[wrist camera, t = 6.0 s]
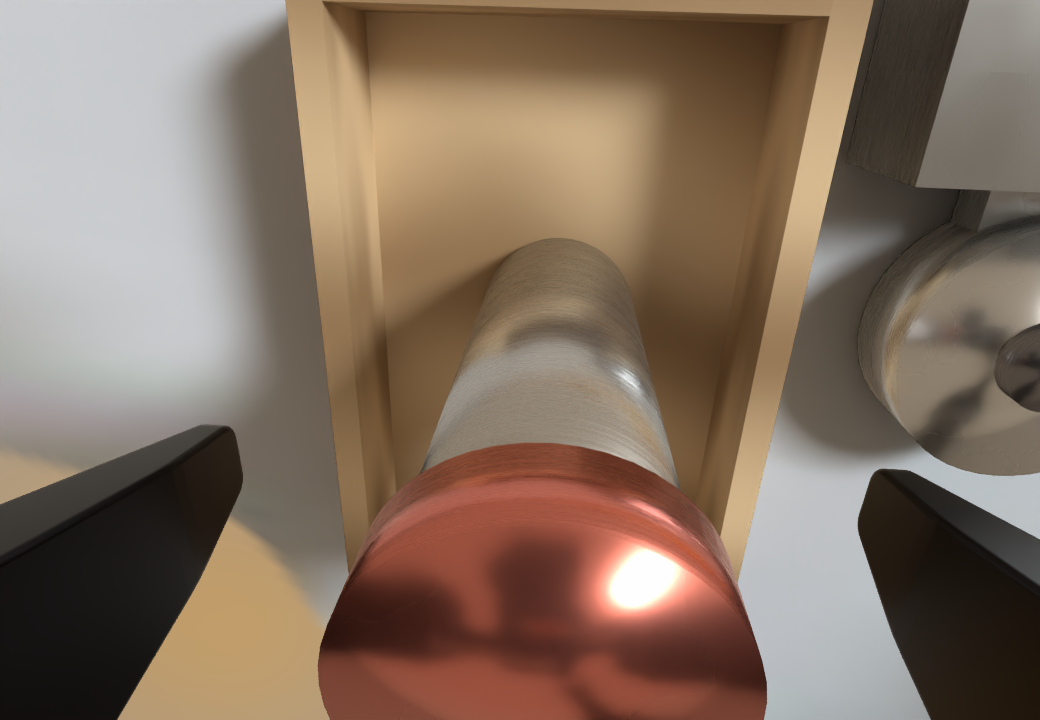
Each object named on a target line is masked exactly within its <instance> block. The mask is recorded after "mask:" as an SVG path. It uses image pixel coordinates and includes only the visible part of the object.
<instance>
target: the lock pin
mask: <svg viewBox="0 0 1040 720" xmlns="http://www.w3.org/2000/svg"><path fill="white" fill-rule="evenodd" d="M318 674H319V675H318V676H319V687H320V691H321V695H322V699H323V703H324V706H325V708H326V711H327V713H328V715H329V718H330V720H764V715H765V710H766V705H767V682H766V677H765V672H764V667H763V662H762V659H761V656H760V652H759V649H758V646H757V643H756V640H755V637H754V634H753V631H752V627H751V624H750V621H749V618H748V615H747V612H746V609H745V606H744V602H743V599H742V596H741V593H740V590H739V587H738V584H737V580H736V577H735V574H734V571H733V568H732V565H731V562H730V559H729V556H728V554H727V551H726V549H725V546H724V544H723V542H722V539H721V538H720V536H719V535H718V533H717V531H716V530H715V528H714V526H713V525H712V523H711V522H710V520H709V519H708V518H707V517H706V516H705V514H704V513H703V512H702V511H701V510H700V509H699V507H698V506H697V505H696V504H695V503H694V502H693V501H692V500H690V499H689V498H688V497H687V496H686V495H685V494H684V493H683V492H681V490H680V486H679V482H678V478H677V474H676V470H675V466H674V463H673V459H672V455H671V451H670V447H669V443H668V439H667V435H666V431H665V427H664V424H663V420H662V416H661V412H660V408H659V404H658V400H657V396H656V392H655V389H654V385H653V381H652V377H651V373H650V369H649V365H648V361H647V357H646V353H645V350H644V346H643V342H642V338H641V334H640V330H639V326H638V322H637V318H636V314H635V311H634V307H633V303H632V299H631V295H630V291H629V287H628V285H627V282H626V280H625V278H624V276H623V274H622V272H621V271H620V269H619V268H618V267H617V265H616V264H615V263H614V262H613V261H612V260H611V259H610V258H609V257H608V256H607V255H606V254H604V253H603V252H602V251H600V250H599V249H597V248H595V247H593V246H591V245H589V244H587V243H584V242H581V241H577V240H573V239H566V238H549V239H542V240H539V241H535V242H532V243H529V244H527V245H525V246H522V247H521V248H519V249H517V250H516V251H514V252H513V253H512V254H510V255H509V256H508V257H507V258H506V259H505V260H504V261H503V262H502V263H501V264H500V265H499V267H498V268H497V269H496V271H495V272H494V274H493V276H492V278H491V280H490V282H489V285H488V288H487V290H486V293H485V296H484V298H483V301H482V304H481V307H480V309H479V312H478V315H477V318H476V320H475V323H474V326H473V329H472V331H471V334H470V337H469V340H468V342H467V345H466V348H465V350H464V353H463V356H462V359H461V361H460V364H459V367H458V370H457V372H456V375H455V378H454V381H453V383H452V386H451V389H450V392H449V394H448V397H447V400H446V402H445V405H444V408H443V411H442V413H441V416H440V419H439V422H438V424H437V427H436V430H435V433H434V435H433V438H432V441H431V444H430V446H429V449H428V452H427V455H426V457H425V460H424V463H423V465H422V468H421V471H420V474H419V475H418V476H417V477H415V478H414V479H412V480H411V481H409V482H408V483H406V484H405V485H404V486H403V487H402V488H401V489H400V490H399V491H398V492H396V493H395V494H394V495H393V496H392V497H391V498H390V499H389V500H388V502H387V503H386V504H385V505H384V507H383V508H382V509H381V510H380V512H379V513H378V514H377V516H376V517H375V519H374V521H373V523H372V525H371V526H370V528H369V530H368V532H367V534H366V536H365V539H364V541H363V543H362V546H361V548H360V550H359V553H358V555H357V557H356V560H355V562H354V564H353V567H352V569H351V571H350V574H349V576H348V578H347V581H346V583H345V585H344V587H343V590H342V592H341V594H340V597H339V599H338V601H337V604H336V606H335V608H334V611H333V613H332V615H331V618H330V620H329V622H328V625H327V627H326V630H325V633H324V636H323V639H322V643H321V646H320V653H319V660H318Z"/></svg>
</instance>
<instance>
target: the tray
mask: <svg viewBox="0 0 1040 720" xmlns="http://www.w3.org/2000/svg"><path fill="white" fill-rule="evenodd" d="M285 1H286V10H287V19H288V28H289V37H290V46H291V55H292V64H293V73H294V82H295V91H296V100H297V109H298V118H299V128H300V137H301V146H302V155H303V164H304V173H305V182H306V191H307V200H308V209H309V218H310V227H311V236H312V245H313V254H314V263H315V272H316V282H317V291H318V300H319V309H320V318H321V327H322V336H323V345H324V354H325V363H326V372H327V381H328V390H329V399H330V408H331V417H332V426H333V436H334V445H335V454H336V463H337V472H338V481H339V490H340V499H341V508H342V517H343V526H344V535H345V544H346V553H347V562H348V571H349V574H350V571H351V569H352V567H353V564H354V562H355V560H356V557H357V555H358V553H359V550H360V548H361V546H362V543H363V541H364V539H365V536H366V534H367V532H368V530H369V528H370V526H371V525H372V523H373V521H374V519H375V517H376V516H377V514H378V513H379V512H380V510H381V509H382V508H383V507H384V505H385V504H386V503H387V502H388V500H389V499H390V498H391V497H392V496H393V495H394V494H395V493H396V492H398V491H399V490H400V489H401V488H402V487H403V486H404V485H405V484H406V483H408V482H409V481H411V480H412V479H414V478H415V477H417V476H418V475H419V474H420V471H421V468H422V465H423V463H424V460H425V457H426V455H427V452H428V449H429V446H430V444H431V441H432V438H433V435H434V433H435V430H436V427H437V424H438V422H439V419H440V416H441V413H442V411H443V408H444V405H445V402H446V400H447V397H448V394H449V392H450V389H451V386H452V383H453V381H454V378H455V375H456V372H457V370H458V367H459V364H460V361H461V359H462V356H463V353H464V350H465V348H466V345H467V342H468V340H469V337H470V334H471V331H472V329H473V326H474V323H475V320H476V318H477V315H478V312H479V309H480V307H481V304H482V301H483V298H484V296H485V293H486V290H487V288H488V285H489V282H490V280H491V278H492V276H493V274H494V272H495V271H496V269H497V268H498V267H499V265H500V264H501V263H502V262H503V261H504V260H505V259H506V258H507V257H508V256H509V255H510V254H512V253H513V252H514V251H516V250H517V249H519V248H521V247H522V246H525V245H527V244H529V243H532V242H535V241H539V240H542V239H549V238H566V239H573V240H577V241H581V242H584V243H587V244H589V245H591V246H593V247H595V248H597V249H599V250H600V251H602V252H603V253H604V254H606V255H607V256H608V257H609V258H610V259H611V260H612V261H613V262H614V263H615V264H616V265H617V267H618V268H619V269H620V271H621V272H622V274H623V276H624V278H625V280H626V282H627V285H628V287H629V291H630V295H631V299H632V303H633V307H634V311H635V314H636V318H637V322H638V326H639V330H640V334H641V338H642V342H643V346H644V350H645V353H646V357H647V361H648V365H649V369H650V373H651V377H652V381H653V385H654V389H655V392H656V396H657V400H658V404H659V408H660V412H661V416H662V420H663V424H664V427H665V431H666V435H667V439H668V443H669V447H670V451H671V455H672V459H673V463H674V466H675V470H676V474H677V478H678V482H679V486H680V490H681V492H683V493H684V494H685V495H686V496H687V497H688V498H689V499H690V500H692V501H693V502H694V503H695V504H696V505H697V506H698V507H699V509H700V510H701V511H702V512H703V513H704V514H705V516H706V517H707V518H708V519H709V520H710V522H711V523H712V525H713V526H714V528H715V530H716V531H717V533H718V535H719V536H720V538H721V539H722V542H723V544H724V546H725V549H726V551H727V554H728V556H729V559H730V562H731V565H732V568H733V571H734V574H735V577H736V580H737V582H738V578H739V574H740V570H741V565H742V561H743V557H744V552H745V548H746V544H747V540H748V535H749V531H750V527H751V523H752V518H753V514H754V510H755V505H756V501H757V497H758V493H759V488H760V484H761V480H762V476H763V471H764V467H765V463H766V458H767V454H768V450H769V446H770V441H771V437H772V433H773V429H774V424H775V420H776V416H777V412H778V407H779V403H780V399H781V394H782V390H783V386H784V382H785V377H786V373H787V369H788V365H789V360H790V356H791V352H792V347H793V343H794V339H795V335H796V330H797V326H798V322H799V318H800V313H801V309H802V305H803V300H804V296H805V292H806V288H807V283H808V279H809V275H810V271H811V266H812V262H813V258H814V253H815V249H816V245H817V241H818V236H819V232H820V228H821V224H822V219H823V215H824V211H825V206H826V202H827V198H828V194H829V189H830V185H831V181H832V177H833V172H834V168H835V164H836V159H837V155H838V151H839V147H840V142H841V138H842V134H843V130H844V125H845V121H846V117H847V113H848V108H849V104H850V100H851V95H852V91H853V87H854V83H855V78H856V74H857V70H858V66H859V61H860V57H861V53H862V48H863V44H864V40H865V36H866V31H867V27H868V23H869V19H870V14H871V10H872V6H873V1H874V0H285Z"/></svg>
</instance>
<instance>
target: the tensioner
mask: <svg viewBox="0 0 1040 720" xmlns="http://www.w3.org/2000/svg"><path fill="white" fill-rule="evenodd" d="M846 162H848V163H851V164H853V165H856V166H859V167H862V168H864V169H867V170H870V171H872V172H875V173H878V174H881V175H883V176H886V177H889V178H892V179H894V180H897V181H900V182H903V183H905V184H908V185H911V186H913V187H924V188H947V189H961V190H960V193H959V196H958V199H957V202H956V206H955V209H954V212H953V215H952V218H951V221H950V222H948V223H946V224H944V225H942V226H940V227H938V228H936V229H935V230H933V231H932V232H930V233H928V234H927V235H925V236H924V237H922V238H921V239H920V240H918V241H917V242H916V243H915V244H913V245H912V246H911V247H909V248H908V249H907V250H906V251H905V252H904V253H903V254H902V255H901V256H900V257H899V258H898V259H897V260H896V261H895V262H894V263H893V264H892V265H891V266H890V268H889V269H888V270H887V271H886V272H885V274H884V275H883V276H882V278H881V279H880V281H879V282H878V284H877V285H876V287H875V288H874V290H873V292H872V294H871V296H870V298H869V300H868V302H867V304H866V307H865V309H864V312H863V315H862V318H861V322H860V327H859V332H858V346H857V347H858V358H859V363H860V367H861V371H862V374H863V376H864V378H865V381H866V383H867V385H868V386H869V388H870V389H871V391H872V392H873V394H874V395H875V396H876V397H877V398H878V400H879V401H880V402H881V403H882V404H883V405H884V406H885V407H886V408H887V409H888V411H889V412H890V413H891V414H892V415H893V416H894V417H895V418H896V419H897V420H898V422H899V423H900V424H901V425H902V426H903V427H904V428H905V429H906V430H907V431H908V433H909V434H910V435H911V436H912V437H913V438H914V439H915V440H916V441H917V442H918V443H919V444H920V445H921V446H922V448H923V449H925V450H926V451H927V452H929V453H930V454H931V455H933V456H934V457H935V458H937V459H939V460H941V461H943V462H945V463H946V464H948V465H951V466H954V467H956V468H959V469H962V470H965V471H970V472H974V473H978V474H986V475H997V476H1014V475H1026V474H1033V473H1039V472H1040V0H885V2H884V7H883V11H882V15H881V19H880V23H879V27H878V32H877V36H876V40H875V44H874V48H873V52H872V56H871V61H870V65H869V69H868V73H867V77H866V81H865V86H864V90H863V94H862V98H861V102H860V106H859V110H858V115H857V119H856V123H855V127H854V131H853V135H852V140H851V144H850V148H849V152H848V156H847V160H846Z"/></svg>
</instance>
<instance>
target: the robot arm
mask: <svg viewBox="0 0 1040 720" xmlns="http://www.w3.org/2000/svg"><path fill="white" fill-rule="evenodd" d="M242 483H243V472H242V466H241V461H240V456H239V450H238V445H237V440H236V436H235V433H234V431H233V430H232V429H231V428H230V427H228V426H220V425H199V426H197V427H194V428H192V429H189V430H187V431H184V432H182V433H179V434H177V435H174V436H172V437H169V438H167V439H164V440H161V441H159V442H156V443H154V444H151V445H149V446H146V447H144V448H141V449H139V450H136V451H134V452H131V453H129V454H126V455H124V456H121V457H119V458H116V459H114V460H111V461H109V462H106V463H104V464H101V465H99V466H96V467H94V468H91V469H88V470H86V471H83V472H81V473H78V474H76V475H73V476H71V477H68V478H66V479H63V480H61V481H58V482H56V483H53V484H51V485H48V486H46V487H43V488H41V489H38V490H36V491H33V492H31V493H28V494H26V495H23V496H21V497H18V498H15V499H13V500H10V501H8V502H5V503H3V504H0V720H117V719H118V717H119V716H120V714H121V712H122V711H123V709H124V707H125V706H126V704H127V702H128V701H129V699H130V697H131V695H132V694H133V692H134V690H135V689H136V687H137V685H138V684H139V682H140V680H141V679H142V677H143V675H144V673H145V672H146V670H147V669H148V667H149V665H150V663H151V662H152V660H153V658H154V657H155V655H156V653H157V652H158V650H159V648H160V647H161V645H162V643H163V641H164V640H165V638H166V636H167V635H168V633H169V631H170V629H171V628H172V626H173V624H174V623H175V621H176V619H177V618H178V616H179V614H180V613H181V611H182V609H183V608H184V606H185V604H186V603H187V601H188V599H189V598H190V596H191V594H192V592H193V591H194V589H195V587H196V585H197V583H198V582H199V580H200V578H201V576H202V574H203V571H204V570H205V567H206V566H207V563H208V561H209V559H210V557H211V555H212V552H213V550H214V548H215V546H216V544H217V541H218V539H219V537H220V535H221V533H222V531H223V528H224V526H225V524H226V522H227V520H228V517H229V515H230V513H231V511H232V509H233V506H234V504H235V502H236V500H237V498H238V495H239V493H240V491H241V487H242ZM858 532H859V536H860V539H861V542H862V545H863V548H864V551H865V554H866V557H867V560H868V563H869V567H870V570H871V573H872V576H873V579H874V582H875V585H876V588H877V591H878V594H879V597H880V600H881V603H882V606H883V609H884V612H885V615H886V618H887V621H888V623H889V626H890V629H891V632H892V634H893V637H894V639H895V641H896V644H897V646H898V648H899V651H900V653H901V655H902V658H903V660H904V662H905V664H906V666H907V668H908V671H909V673H910V675H911V677H912V679H913V682H914V684H915V686H916V688H917V690H918V693H919V695H920V697H921V699H922V701H923V704H924V706H925V708H926V710H927V712H928V714H929V717H930V719H931V720H1040V539H1038V538H1036V537H1034V536H1032V535H1030V534H1028V533H1027V532H1025V531H1023V530H1021V529H1019V528H1017V527H1015V526H1013V525H1011V524H1010V523H1008V522H1006V521H1004V520H1002V519H1000V518H998V517H996V516H994V515H993V514H991V513H989V512H987V511H985V510H983V509H981V508H979V507H977V506H976V505H974V504H972V503H970V502H968V501H966V500H964V499H962V498H961V497H959V496H957V495H955V494H953V493H951V492H949V491H947V490H945V489H944V488H942V487H940V486H938V485H936V484H934V483H932V482H930V481H928V480H927V479H925V478H923V477H921V476H919V475H917V474H915V473H913V472H911V471H907V470H896V469H879V470H877V471H875V472H874V474H873V475H872V477H871V479H870V482H869V485H868V488H867V491H866V495H865V498H864V501H863V504H862V507H861V510H860V513H859V517H858Z"/></svg>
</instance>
